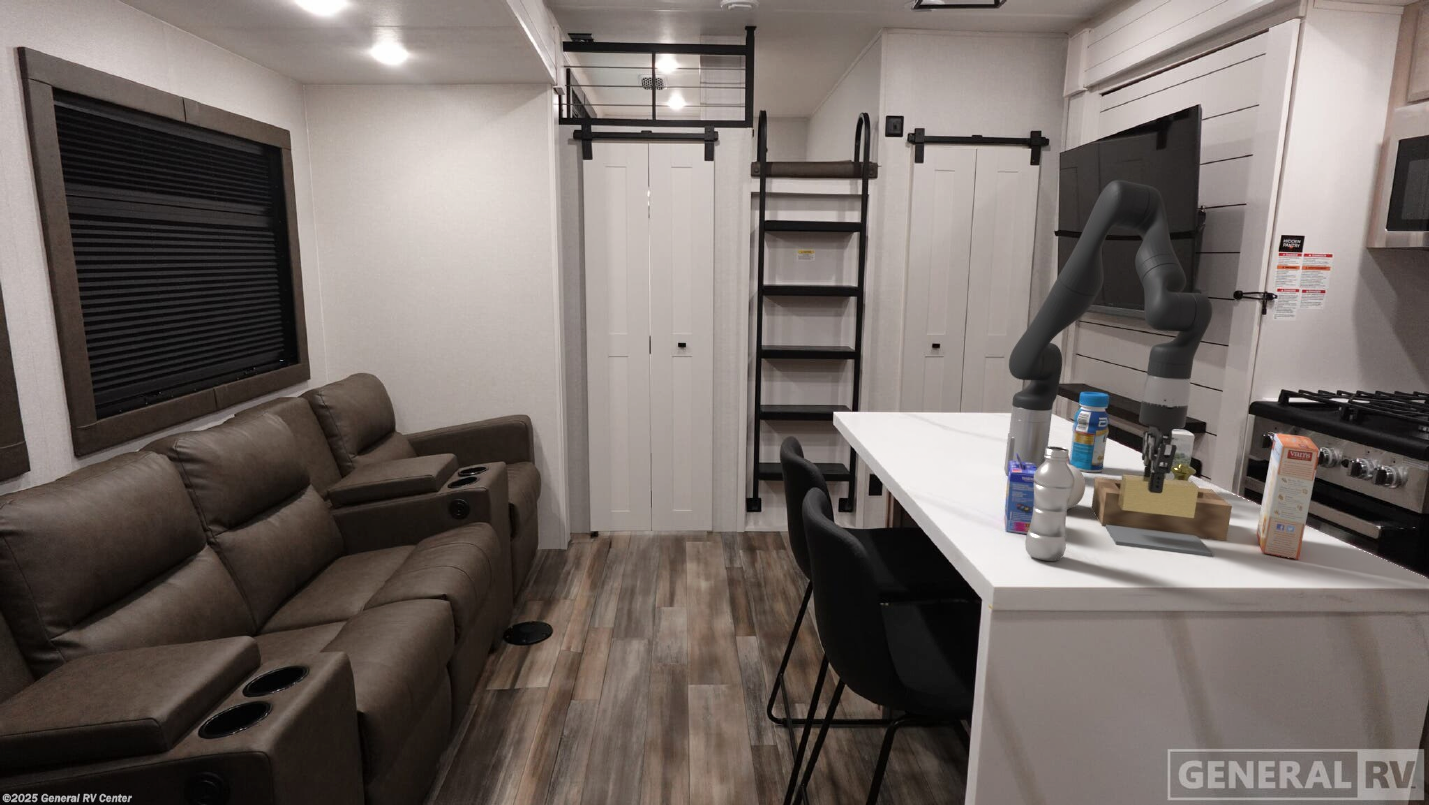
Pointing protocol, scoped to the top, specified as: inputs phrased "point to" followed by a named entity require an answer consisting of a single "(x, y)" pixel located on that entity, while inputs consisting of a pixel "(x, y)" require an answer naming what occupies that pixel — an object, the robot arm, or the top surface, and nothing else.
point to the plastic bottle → (1050, 506)
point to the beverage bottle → (1090, 432)
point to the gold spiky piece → (1182, 472)
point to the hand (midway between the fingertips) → (1152, 488)
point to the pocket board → (1205, 524)
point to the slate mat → (1158, 540)
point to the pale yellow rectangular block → (1158, 496)
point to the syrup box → (1181, 449)
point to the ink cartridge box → (1019, 496)
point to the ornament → (1076, 486)
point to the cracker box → (1287, 495)
